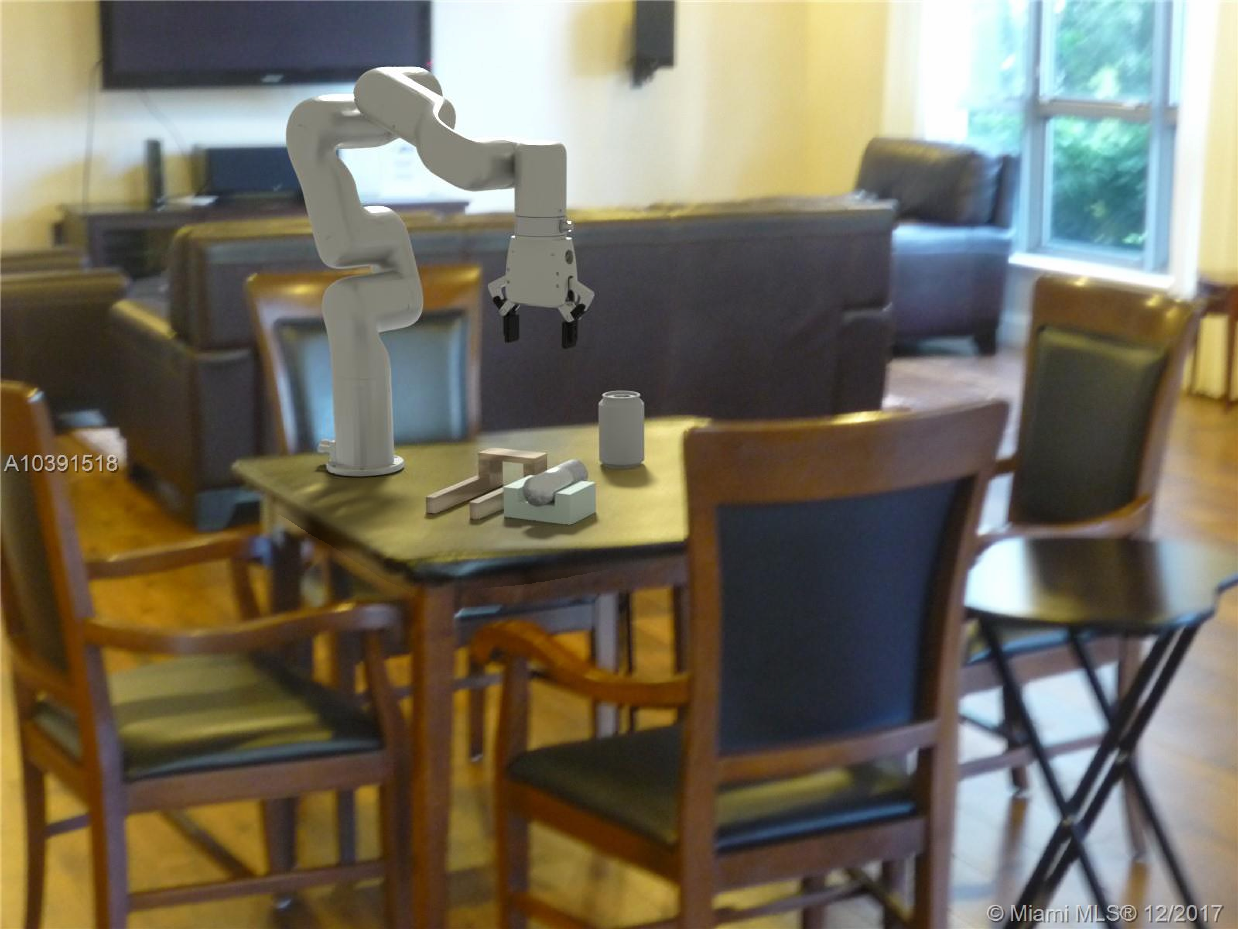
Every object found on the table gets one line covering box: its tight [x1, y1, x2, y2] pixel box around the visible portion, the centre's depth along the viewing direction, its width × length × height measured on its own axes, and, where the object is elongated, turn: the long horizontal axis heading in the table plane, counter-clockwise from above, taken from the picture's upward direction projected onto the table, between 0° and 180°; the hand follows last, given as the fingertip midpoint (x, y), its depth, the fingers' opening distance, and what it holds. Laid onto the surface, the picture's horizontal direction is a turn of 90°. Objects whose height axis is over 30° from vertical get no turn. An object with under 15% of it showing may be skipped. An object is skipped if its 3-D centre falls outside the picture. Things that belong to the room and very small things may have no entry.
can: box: [598, 390, 645, 470], centre depth 280 cm, size 8×8×12 cm
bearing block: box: [425, 447, 548, 520], centre depth 258 cm, size 10×20×6 cm, turn 154°
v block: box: [503, 475, 597, 526], centre depth 251 cm, size 11×8×4 cm
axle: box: [523, 459, 589, 507], centre depth 250 cm, size 12×4×4 cm, turn 154°
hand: (540, 344), depth 252 cm, fingers open, 9 cm apart
